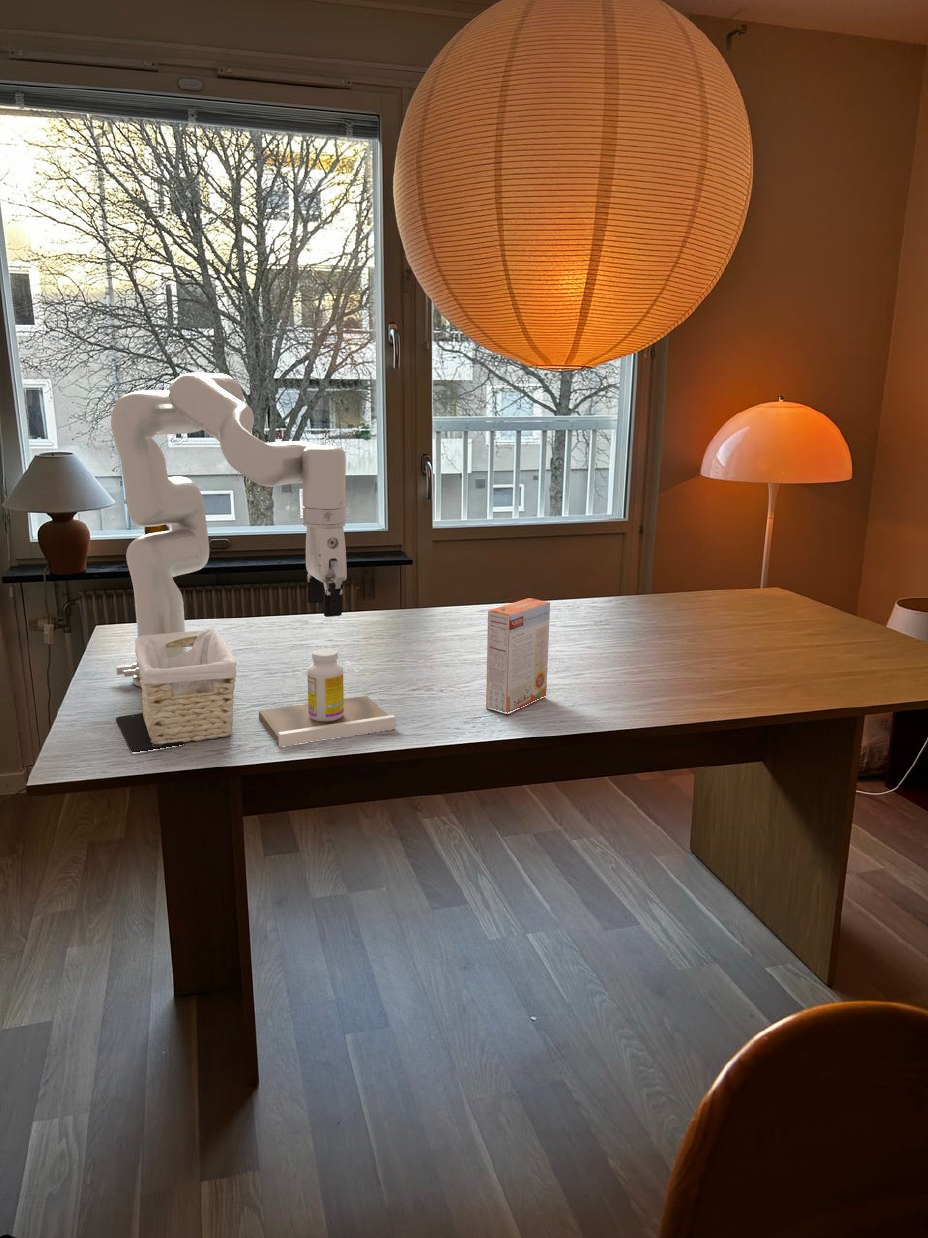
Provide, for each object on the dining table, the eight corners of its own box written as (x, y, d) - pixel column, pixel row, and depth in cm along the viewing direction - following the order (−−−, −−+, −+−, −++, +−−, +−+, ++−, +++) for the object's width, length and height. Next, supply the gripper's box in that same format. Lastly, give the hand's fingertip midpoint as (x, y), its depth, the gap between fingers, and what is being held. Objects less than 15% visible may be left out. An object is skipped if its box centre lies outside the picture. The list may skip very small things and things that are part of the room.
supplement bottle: (348, 712, 172) (348, 648, 169) (337, 724, 166) (336, 658, 162) (315, 708, 173) (314, 645, 170) (302, 721, 167) (301, 655, 164)
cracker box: (523, 691, 191) (528, 596, 185) (547, 698, 187) (552, 601, 181) (483, 709, 180) (486, 608, 174) (507, 716, 176) (511, 614, 171)
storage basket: (137, 705, 177) (132, 633, 173) (221, 695, 183) (218, 626, 179) (147, 751, 156) (141, 671, 152) (241, 739, 162) (238, 662, 158)
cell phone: (132, 756, 154) (132, 751, 154) (115, 721, 169) (115, 716, 169) (185, 747, 159) (184, 742, 158) (164, 714, 174) (163, 709, 173)
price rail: (280, 747, 159) (280, 734, 158) (278, 745, 160) (278, 732, 159) (395, 729, 168) (395, 717, 168) (392, 727, 169) (393, 714, 169)
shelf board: (278, 745, 160) (278, 737, 159) (259, 718, 172) (258, 711, 171) (392, 727, 169) (393, 719, 169) (366, 702, 181) (366, 695, 181)
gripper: (361, 524, 154) (359, 619, 158) (328, 508, 168) (328, 596, 173) (318, 525, 150) (319, 623, 155) (289, 509, 165) (290, 599, 170)
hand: (324, 609), depth 164 cm, fingers open, 9 cm apart
